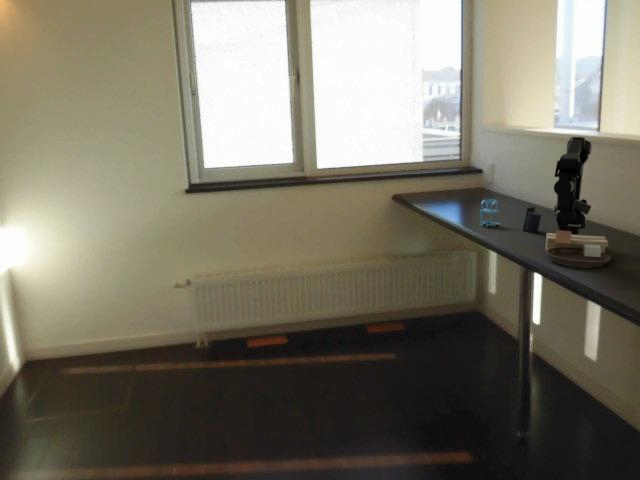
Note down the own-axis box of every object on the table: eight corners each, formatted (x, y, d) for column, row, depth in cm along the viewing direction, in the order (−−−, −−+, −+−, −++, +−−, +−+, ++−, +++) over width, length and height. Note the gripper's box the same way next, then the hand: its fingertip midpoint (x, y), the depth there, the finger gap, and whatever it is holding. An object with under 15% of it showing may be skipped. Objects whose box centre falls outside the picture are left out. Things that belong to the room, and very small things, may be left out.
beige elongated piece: (545, 248, 228) (546, 232, 226) (602, 251, 221) (604, 236, 220) (546, 254, 217) (547, 238, 216) (606, 258, 211) (608, 242, 210)
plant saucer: (592, 255, 218) (593, 246, 218) (621, 270, 198) (622, 260, 197) (536, 255, 218) (537, 247, 217) (560, 270, 198) (561, 261, 197)
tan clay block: (555, 234, 216) (556, 230, 214) (570, 235, 215) (571, 231, 212) (554, 246, 214) (555, 241, 211) (569, 247, 212) (570, 243, 210)
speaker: (518, 229, 262) (523, 206, 259) (530, 229, 264) (534, 206, 261) (529, 234, 256) (533, 210, 252) (540, 234, 257) (545, 210, 254)
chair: (476, 225, 272) (477, 199, 270) (484, 223, 278) (486, 197, 276) (491, 227, 267) (493, 201, 264) (500, 225, 273) (501, 199, 270)
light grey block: (585, 247, 203) (584, 256, 204) (601, 248, 201) (600, 257, 202) (583, 244, 208) (583, 252, 208) (599, 245, 206) (598, 253, 207)
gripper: (593, 197, 202) (589, 242, 205) (588, 190, 219) (583, 231, 222) (558, 195, 205) (554, 239, 208) (555, 189, 222) (552, 229, 226)
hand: (562, 235), depth 216 cm, fingers closed
